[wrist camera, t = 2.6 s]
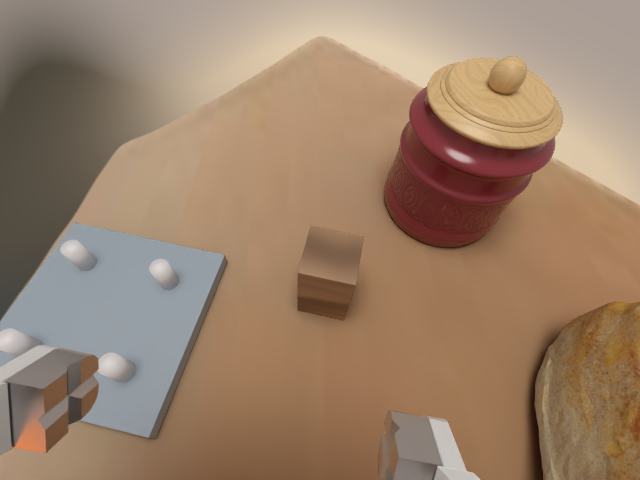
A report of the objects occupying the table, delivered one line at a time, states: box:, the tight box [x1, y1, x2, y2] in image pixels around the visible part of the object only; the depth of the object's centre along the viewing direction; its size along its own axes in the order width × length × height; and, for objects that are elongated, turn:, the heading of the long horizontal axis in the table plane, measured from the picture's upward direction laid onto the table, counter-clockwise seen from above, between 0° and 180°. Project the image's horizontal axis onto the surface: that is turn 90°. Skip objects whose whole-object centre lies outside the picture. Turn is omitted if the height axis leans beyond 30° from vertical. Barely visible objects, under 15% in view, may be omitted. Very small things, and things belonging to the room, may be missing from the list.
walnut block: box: [298, 226, 364, 320], centre depth 31 cm, size 4×4×8 cm
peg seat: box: [0, 222, 227, 439], centre depth 29 cm, size 16×16×4 cm
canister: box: [385, 56, 563, 247], centre depth 33 cm, size 13×13×18 cm
